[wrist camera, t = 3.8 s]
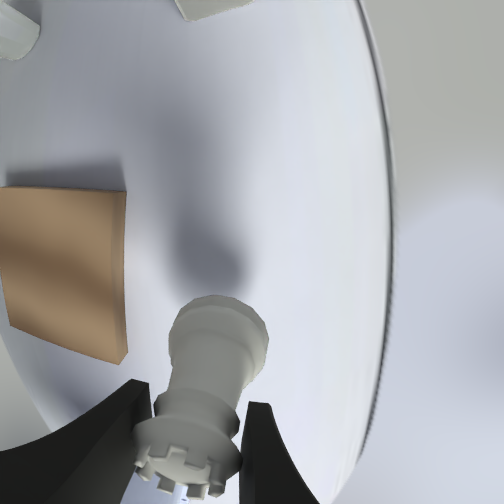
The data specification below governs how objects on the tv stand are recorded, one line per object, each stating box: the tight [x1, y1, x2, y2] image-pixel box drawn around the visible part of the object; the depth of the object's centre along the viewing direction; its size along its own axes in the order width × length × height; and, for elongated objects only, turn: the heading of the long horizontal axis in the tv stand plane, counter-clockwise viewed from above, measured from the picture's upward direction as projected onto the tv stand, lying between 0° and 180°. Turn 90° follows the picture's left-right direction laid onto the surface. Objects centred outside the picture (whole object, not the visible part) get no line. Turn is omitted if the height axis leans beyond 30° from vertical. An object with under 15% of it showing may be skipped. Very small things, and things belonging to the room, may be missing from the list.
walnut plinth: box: [0, 186, 128, 365], centre depth 15 cm, size 10×10×2 cm
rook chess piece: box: [131, 295, 269, 500], centre depth 9 cm, size 4×4×8 cm
